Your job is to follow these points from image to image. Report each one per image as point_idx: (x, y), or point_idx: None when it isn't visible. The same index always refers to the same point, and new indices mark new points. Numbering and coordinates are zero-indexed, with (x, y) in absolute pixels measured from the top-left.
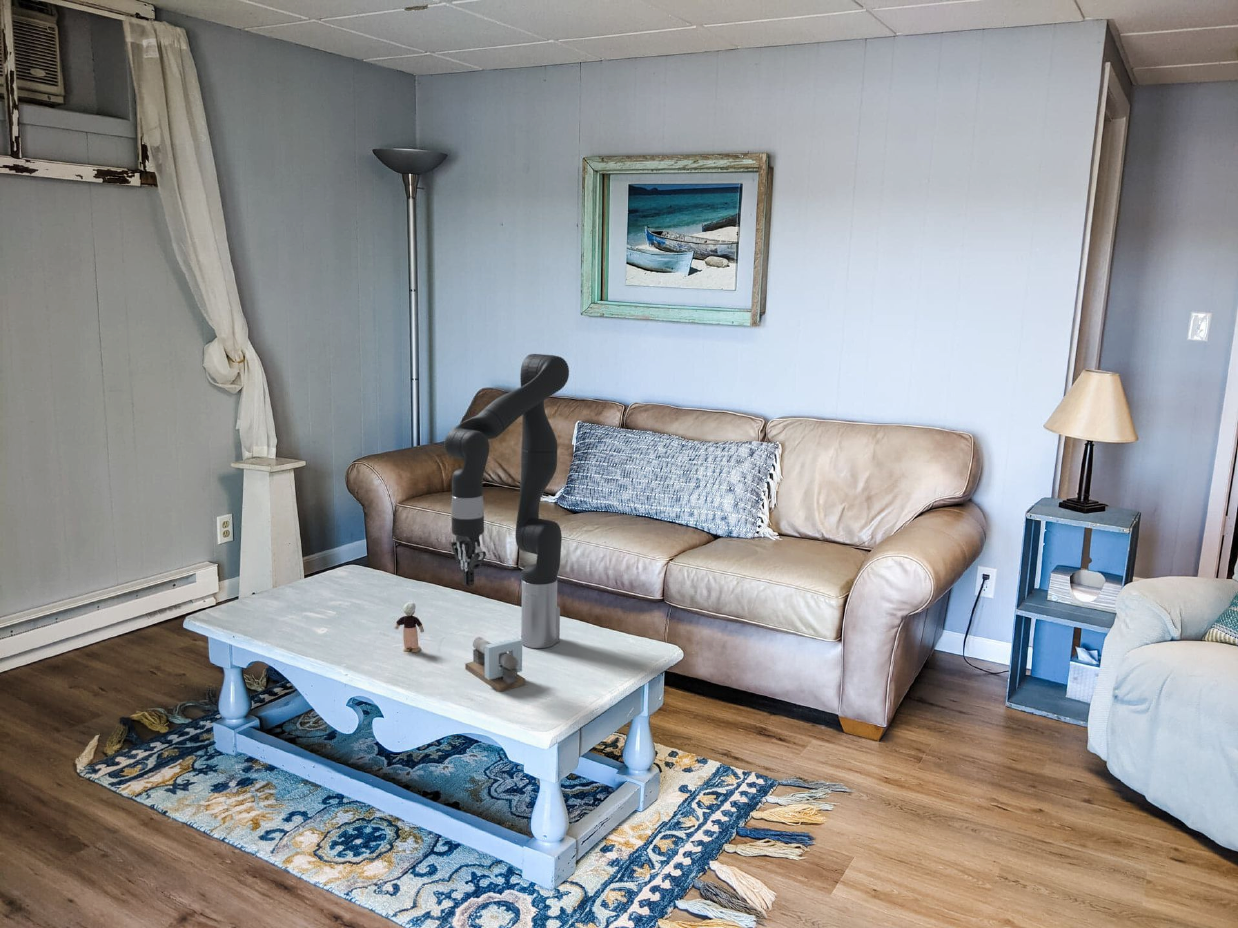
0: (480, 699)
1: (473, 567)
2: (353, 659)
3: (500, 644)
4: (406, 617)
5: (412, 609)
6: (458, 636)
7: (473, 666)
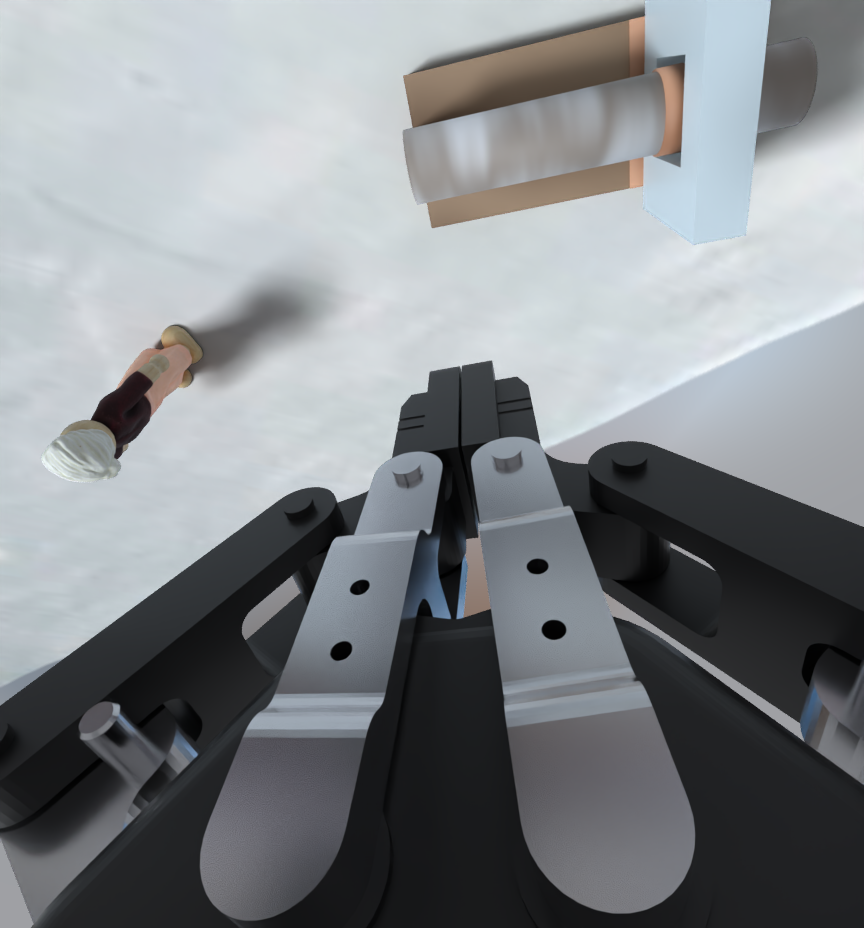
0: (742, 264)
1: (668, 545)
2: (231, 525)
3: (743, 144)
4: (117, 445)
5: (108, 450)
6: (25, 118)
7: (480, 204)
